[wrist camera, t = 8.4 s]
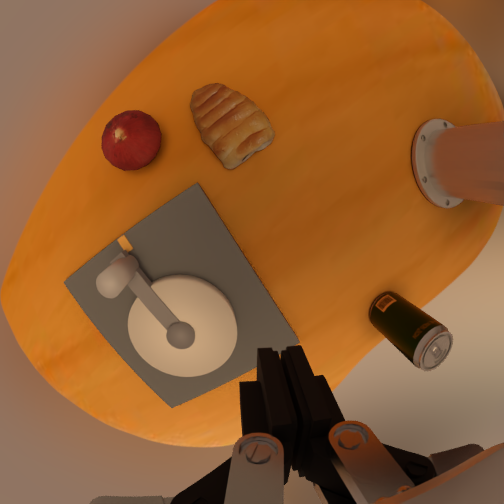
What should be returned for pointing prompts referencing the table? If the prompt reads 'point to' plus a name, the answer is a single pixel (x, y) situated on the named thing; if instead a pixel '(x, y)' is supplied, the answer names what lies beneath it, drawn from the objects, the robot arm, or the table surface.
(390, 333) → the beer can
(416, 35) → the table surface
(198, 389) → the base plate
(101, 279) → the dial
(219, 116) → the pastry
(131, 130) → the onion
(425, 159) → the robot arm
